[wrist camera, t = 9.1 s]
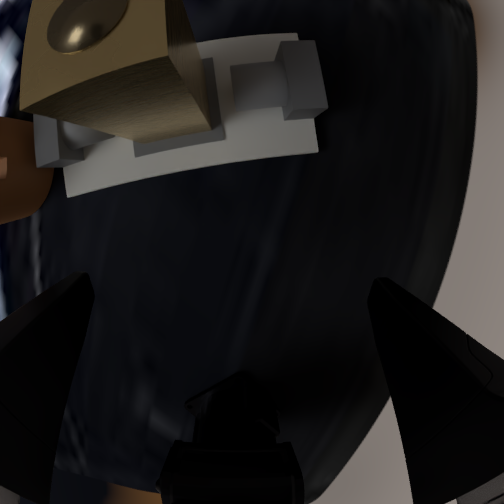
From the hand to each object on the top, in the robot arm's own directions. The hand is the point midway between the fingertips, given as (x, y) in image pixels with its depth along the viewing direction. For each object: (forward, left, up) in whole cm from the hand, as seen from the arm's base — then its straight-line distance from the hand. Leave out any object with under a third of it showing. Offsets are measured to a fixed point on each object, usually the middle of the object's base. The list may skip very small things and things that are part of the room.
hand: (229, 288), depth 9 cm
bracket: (-16, +18, -13) cm, 27 cm away
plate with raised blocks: (+2, +9, -12) cm, 15 cm away
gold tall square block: (+2, +9, -11) cm, 14 cm away
